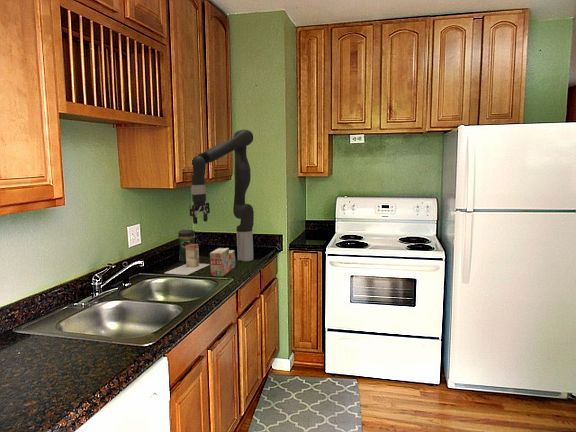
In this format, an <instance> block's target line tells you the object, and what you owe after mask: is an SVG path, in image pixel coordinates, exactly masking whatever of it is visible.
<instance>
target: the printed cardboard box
mask: <svg viewBox="0 0 576 432" xmlns="http://www.w3.org/2000/svg"><path fill="white" fill-rule="evenodd" d="M209 264H210V265H209V266H210V275H211V277H223V276H226V274H228V273H229V272H230V271H231V270H233V269H234V268H235V267H236V253H235V250H234V249H230V248H229V247H225V248H224V247H218V248H216V249H214V250H213V251H211V252H209Z"/></svg>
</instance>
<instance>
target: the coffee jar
mask: <svg viewBox="0 0 576 432" xmlns="http://www.w3.org/2000/svg"><path fill="white" fill-rule="evenodd" d="M177 237H178V241H179V261H180V262H186V247H185V246H186V245H189V244H196V242H195V240H196V233H195V230H194V229H181V230H179V231H178V235H177Z"/></svg>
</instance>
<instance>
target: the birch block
mask: <svg viewBox="0 0 576 432" xmlns="http://www.w3.org/2000/svg"><path fill="white" fill-rule="evenodd" d="M185 247H186V261H185V262H186V263H185V264H186V266H187V267H192V268H195V267H197V266H199V263H200V255H199V254H200V252H199V244H198V243H195V244H189V245H186V246H185Z"/></svg>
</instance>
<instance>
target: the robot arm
mask: <svg viewBox="0 0 576 432" xmlns="http://www.w3.org/2000/svg"><path fill="white" fill-rule="evenodd" d="M253 141H254V134H253V132H252V131H250V130H249V129H240V130H237V131H235V132H234V134H233V137H232V138H230V139H229V140H227V141H224V142H221V143H219V144H216V145H214V146H212V147H210V148H208V149H206V150H205V151H203V152H201V153H198V154H197V155H198V156H195V155H194V156H195V157H194V158H193V160H192V165H193V169H192V171H193V173H192V175H191V177H192V180H191V200H192V201H191V202H192V203H193V204H190V205H189V217H191V218H192V222H193V225H197V224H198V215H199V213H202V214H203V222H208V219H209V218H208V214H210V213H211V211H210V210H211V209H210V202H207V191H206V189H207V188H206V182H205V174H206V167H207V164H210V163H214V162H215V161H217V160H218V159H220V158H223V157H224V156H226V155H228V154H230V153H231V152H234V197H233V209H232V211H233V212H232V213H233V216H234V217H235V218H236V219H239V220H240V222H239V224H238V225H236V249H237V250H236V251H237V261H241V262H250V261H253V260H254V239H253V237H254V236H253V235H254V234H253V227H254V224H255V223H254V219H255V217H254V216H255V211H254V207H253V205H251V204H249V203H246V194H247V192H248V191H247V190H248V189H249V187H250V184H251V176H252V175H251V166H250V163H249V161H248V156H247V146H249V145H251V144H252V143H253Z"/></svg>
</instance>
